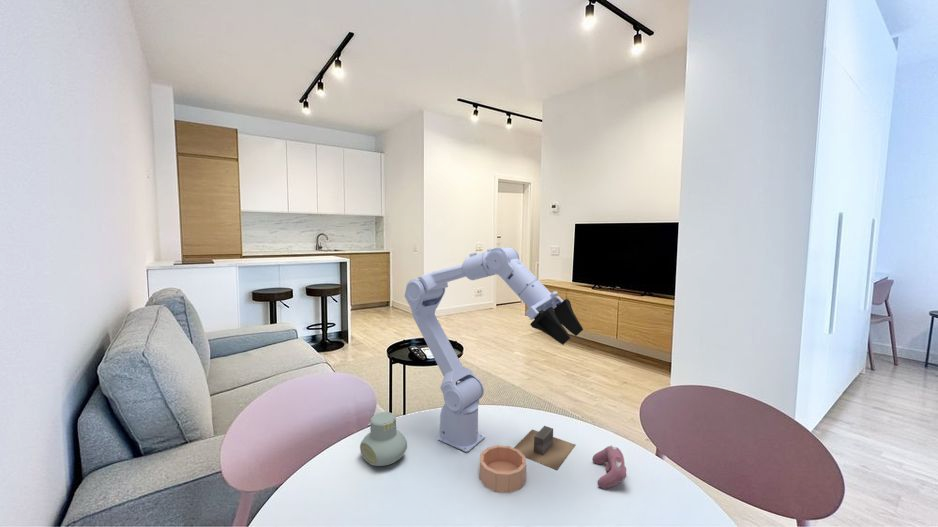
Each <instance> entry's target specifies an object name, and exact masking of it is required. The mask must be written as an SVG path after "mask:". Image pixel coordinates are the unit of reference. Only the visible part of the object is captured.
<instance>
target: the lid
mask: <svg viewBox="0 0 938 527" xmlns="http://www.w3.org/2000/svg"><path fill="white" fill-rule="evenodd" d="M575 446H576V443H572V442H570V441H566V440H563V439H560V438H557V437H555V436H554V428H552V427H550V426H546V425H544V426H542V428H541V429H539V431H538V430H536V429H531V430H530V431H529V432H528V433H527V434H526V435H525V436H524V437H523V438H522V439H521V440H520V441H519V442H518V443H517V444H516V445H515V446H514V447H513V448H515V449H517V450H519V451H520V452H521V453H522V454H523V455H524V456H525V457H526V459H527V460H530V461H533V462H535V463H538V464H540V465H543V466H545V467H548V468H550V469H552V470H554V471H558V470H559V469H560V468H561V466H562V465H563V463H564V462H565V461H566V459H567V458H568V456H569V455H570V454H571V453H572V451H573V449H574V448H575Z"/></svg>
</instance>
